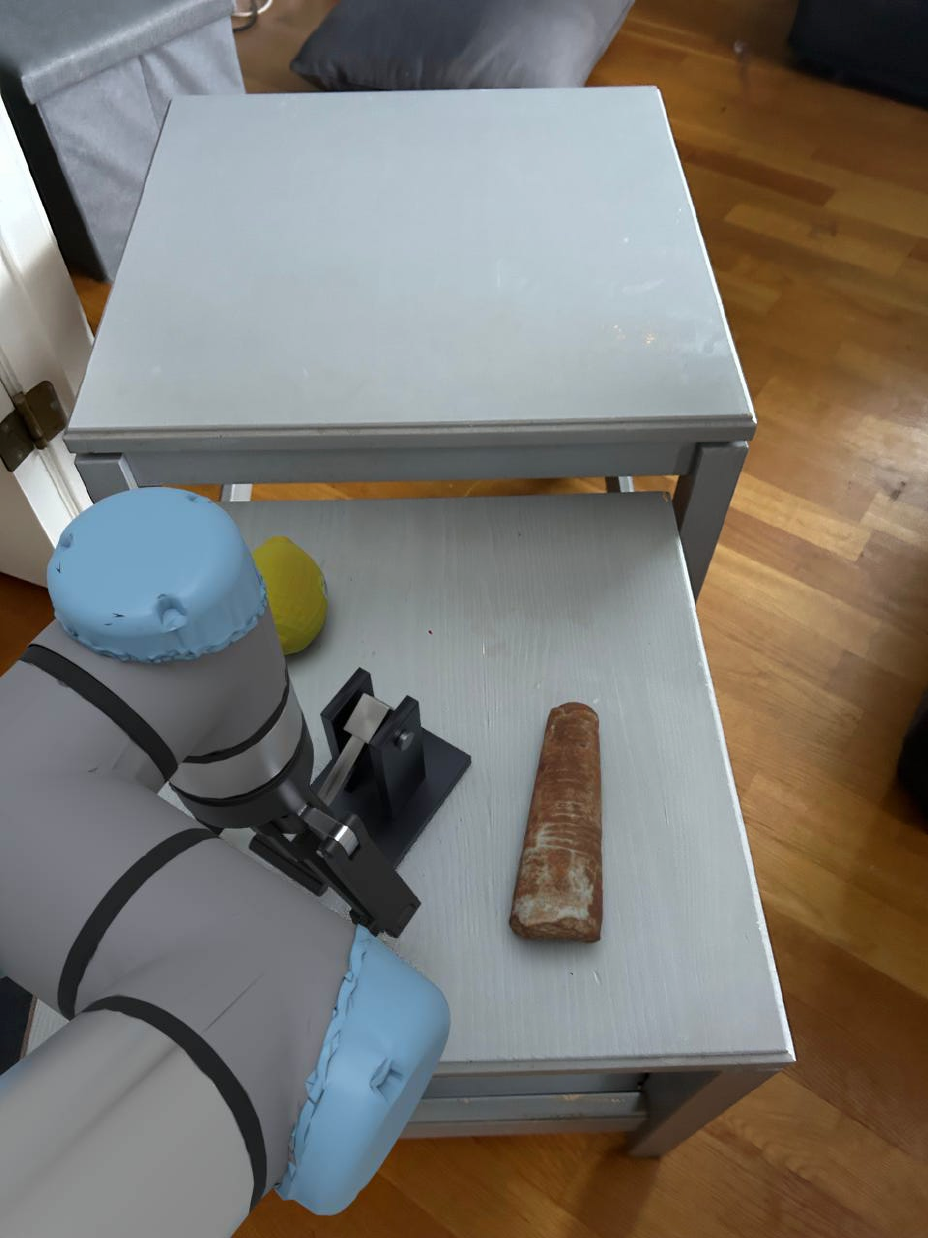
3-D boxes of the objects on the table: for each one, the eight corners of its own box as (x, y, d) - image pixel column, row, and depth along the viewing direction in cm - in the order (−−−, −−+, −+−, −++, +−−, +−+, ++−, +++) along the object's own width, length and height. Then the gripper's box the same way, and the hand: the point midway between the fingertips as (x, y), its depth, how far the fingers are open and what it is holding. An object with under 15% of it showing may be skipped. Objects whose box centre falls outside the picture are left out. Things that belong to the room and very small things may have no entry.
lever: (326, 896, 64) (312, 898, 61) (257, 849, 65) (241, 850, 63) (423, 725, 65) (413, 721, 62) (353, 684, 66) (340, 678, 64)
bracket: (390, 877, 69) (375, 806, 59) (294, 814, 72) (263, 736, 62) (471, 762, 74) (471, 679, 64) (379, 708, 77) (364, 619, 67)
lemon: (321, 681, 79) (307, 627, 72) (230, 673, 79) (208, 619, 73) (344, 577, 85) (333, 519, 78) (259, 571, 85) (241, 512, 79)
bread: (505, 947, 66) (507, 923, 62) (542, 712, 77) (546, 677, 72) (595, 964, 66) (603, 941, 61) (619, 724, 76) (628, 689, 72)
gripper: (477, 800, 46) (477, 927, 63) (107, 576, 54) (199, 745, 71) (386, 932, 42) (413, 1028, 60) (5, 672, 50) (128, 824, 68)
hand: (297, 874), depth 66 cm, fingers open, 13 cm apart
